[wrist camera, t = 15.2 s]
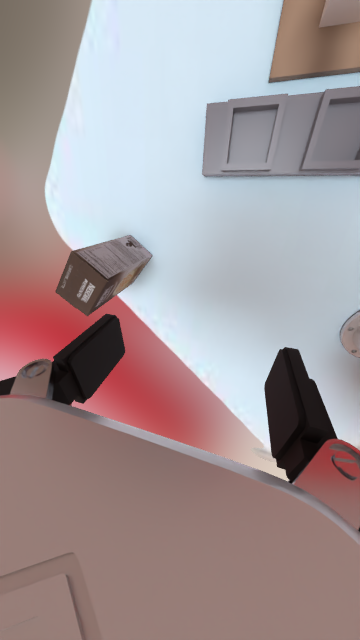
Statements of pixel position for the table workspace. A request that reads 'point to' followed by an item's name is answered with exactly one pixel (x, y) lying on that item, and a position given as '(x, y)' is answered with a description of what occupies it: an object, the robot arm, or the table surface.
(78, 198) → the table surface
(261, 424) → the table surface
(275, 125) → the power strip
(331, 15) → the plug
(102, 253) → the coffee box
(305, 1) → the walnut mat
